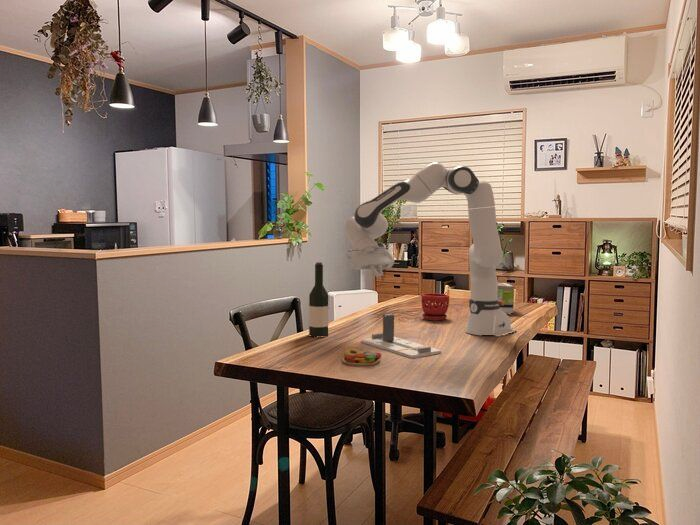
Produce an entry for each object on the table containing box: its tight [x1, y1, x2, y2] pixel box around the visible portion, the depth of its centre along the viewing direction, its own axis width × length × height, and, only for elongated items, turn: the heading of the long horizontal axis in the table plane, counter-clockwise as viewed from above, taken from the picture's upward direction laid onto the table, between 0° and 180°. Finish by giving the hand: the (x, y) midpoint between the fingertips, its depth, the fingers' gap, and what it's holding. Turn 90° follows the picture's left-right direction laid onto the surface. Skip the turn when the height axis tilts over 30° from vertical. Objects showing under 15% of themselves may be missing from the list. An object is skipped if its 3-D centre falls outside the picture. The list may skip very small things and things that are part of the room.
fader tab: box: [382, 313, 395, 342], centre depth 215 cm, size 3×3×10 cm
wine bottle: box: [308, 261, 329, 338], centre depth 228 cm, size 8×8×30 cm
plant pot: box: [421, 292, 450, 321], centre depth 269 cm, size 13×13×12 cm
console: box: [360, 332, 442, 359], centre depth 210 cm, size 14×30×3 cm, turn 34°
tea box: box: [497, 282, 515, 314], centre depth 290 cm, size 15×10×15 cm
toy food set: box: [341, 348, 382, 367], centre depth 189 cm, size 13×13×3 cm
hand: (379, 275), depth 226 cm, fingers closed
